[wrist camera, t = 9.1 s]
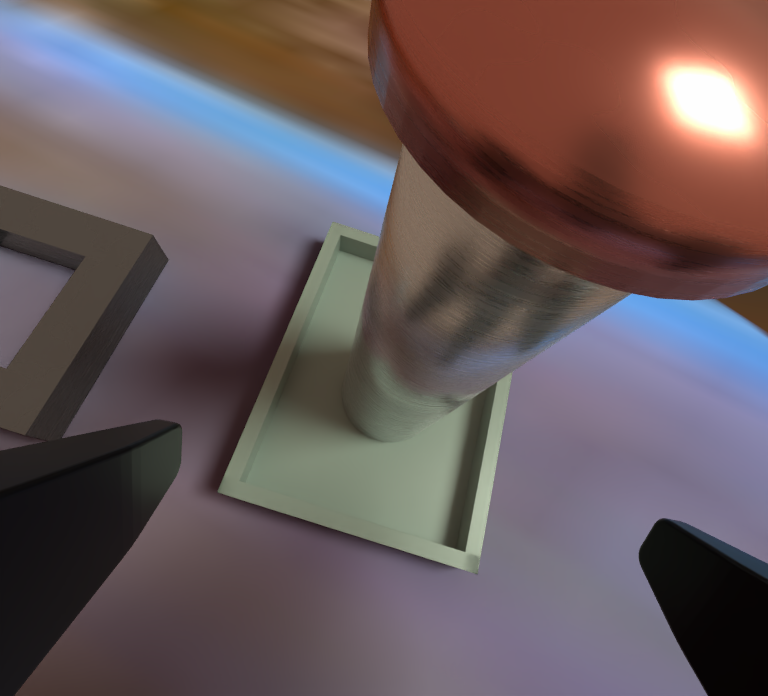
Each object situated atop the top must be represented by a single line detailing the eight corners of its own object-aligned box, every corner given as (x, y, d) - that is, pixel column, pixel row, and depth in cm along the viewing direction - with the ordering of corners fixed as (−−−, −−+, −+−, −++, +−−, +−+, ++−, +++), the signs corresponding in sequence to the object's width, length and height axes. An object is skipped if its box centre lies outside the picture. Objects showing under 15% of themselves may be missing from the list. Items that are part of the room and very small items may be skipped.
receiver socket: (58, 443, 17) (24, 435, 15) (-166, 372, 17) (-228, 356, 15) (168, 259, 20) (152, 234, 18) (-15, 200, 20) (-49, 169, 18)
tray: (462, 567, 17) (477, 574, 15) (227, 493, 17) (217, 492, 15) (512, 302, 22) (527, 285, 20) (332, 243, 22) (332, 221, 20)
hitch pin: (386, 488, 17) (826, 399, 2) (299, 386, 18) (239, -123, 3) (475, 400, 19) (1008, 65, 4) (392, 313, 20) (610, -205, 5)
